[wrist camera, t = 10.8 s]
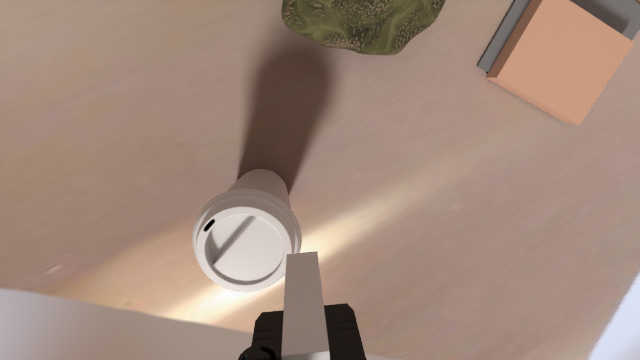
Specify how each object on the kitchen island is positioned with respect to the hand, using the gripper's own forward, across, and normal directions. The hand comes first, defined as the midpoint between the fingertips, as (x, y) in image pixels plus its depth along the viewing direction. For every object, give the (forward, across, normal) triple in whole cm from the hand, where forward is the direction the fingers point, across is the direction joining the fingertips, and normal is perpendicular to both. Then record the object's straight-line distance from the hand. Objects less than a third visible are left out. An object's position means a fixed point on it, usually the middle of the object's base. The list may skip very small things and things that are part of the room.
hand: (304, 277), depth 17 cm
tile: (+25, +28, +5) cm, 38 cm away
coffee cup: (+27, -5, -4) cm, 27 cm away
